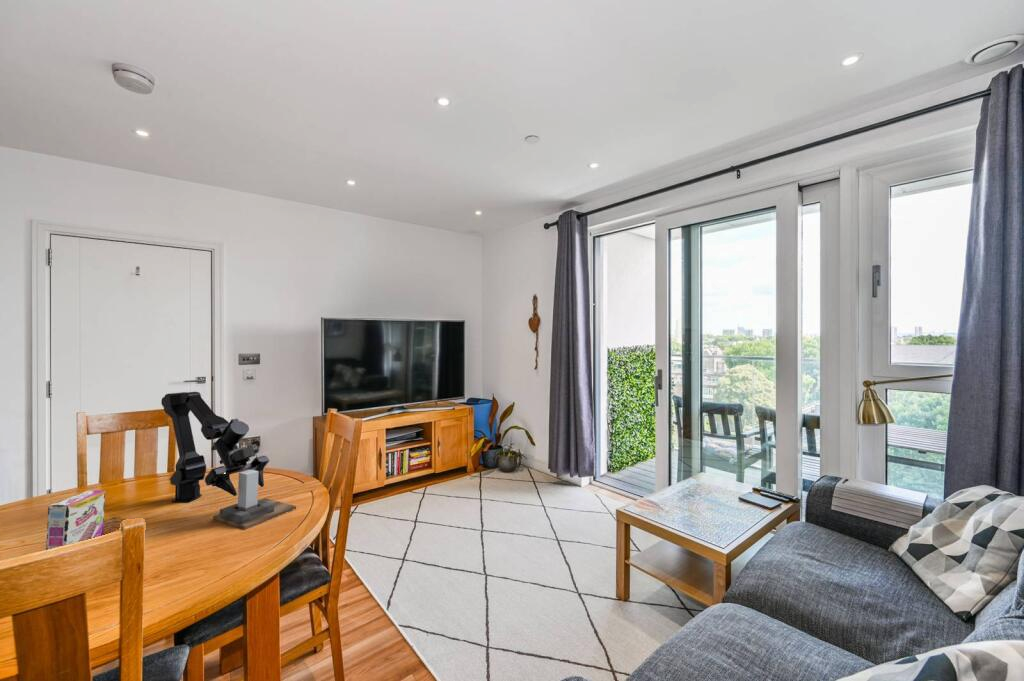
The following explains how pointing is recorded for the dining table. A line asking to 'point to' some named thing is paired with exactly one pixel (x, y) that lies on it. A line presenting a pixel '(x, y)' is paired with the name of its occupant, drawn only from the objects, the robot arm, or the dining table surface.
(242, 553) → the dining table surface
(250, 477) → the white block
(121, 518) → the pastry
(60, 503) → the candy bar box
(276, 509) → the grey square socket base
